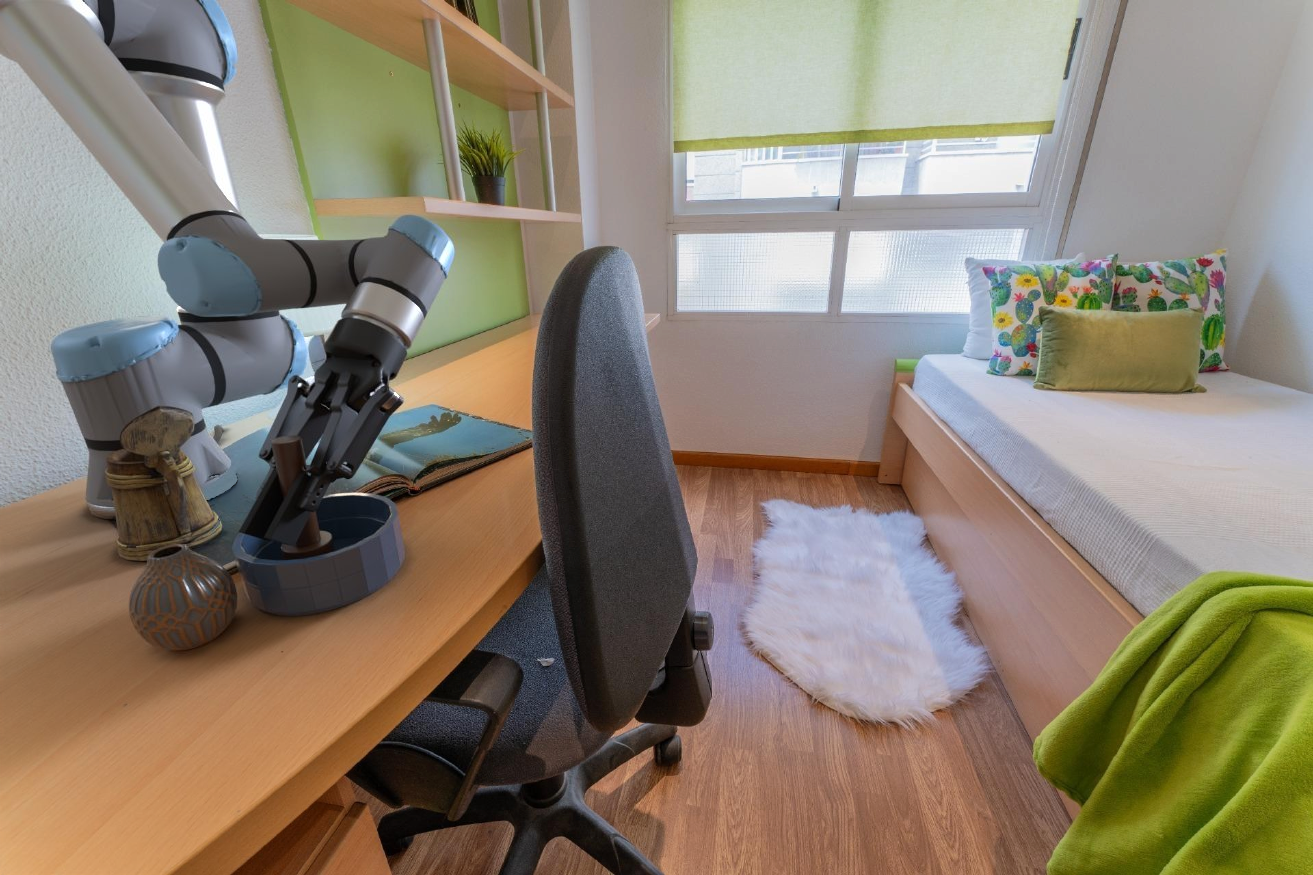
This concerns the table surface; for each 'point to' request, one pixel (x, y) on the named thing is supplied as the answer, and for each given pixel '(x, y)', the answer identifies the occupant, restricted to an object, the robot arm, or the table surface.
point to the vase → (182, 599)
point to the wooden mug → (157, 486)
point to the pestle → (288, 467)
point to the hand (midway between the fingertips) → (266, 538)
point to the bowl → (326, 559)
